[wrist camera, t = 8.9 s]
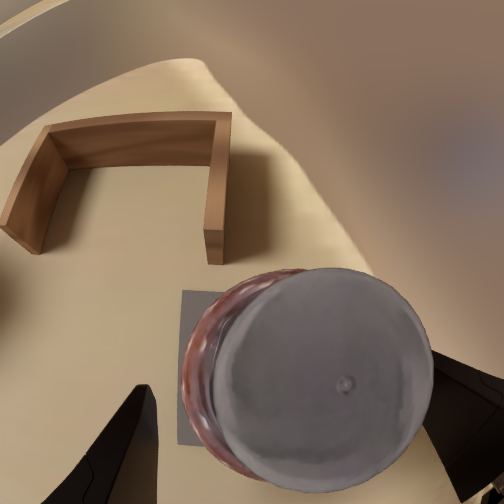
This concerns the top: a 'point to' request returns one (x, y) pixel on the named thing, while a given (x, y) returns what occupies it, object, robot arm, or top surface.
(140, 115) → the crate
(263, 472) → the supplement bottle
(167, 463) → the top surface
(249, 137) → the top surface
